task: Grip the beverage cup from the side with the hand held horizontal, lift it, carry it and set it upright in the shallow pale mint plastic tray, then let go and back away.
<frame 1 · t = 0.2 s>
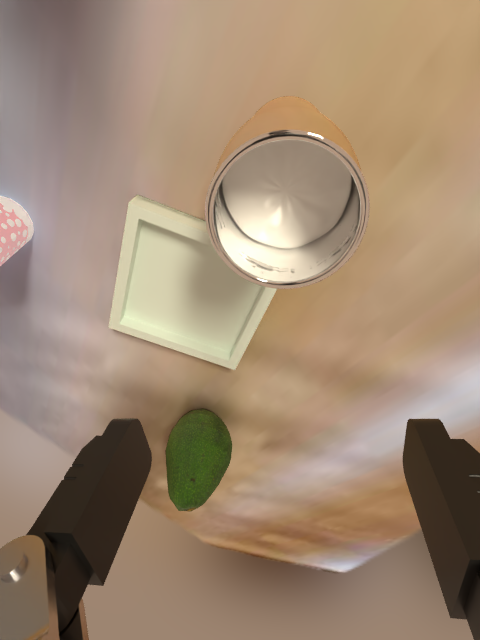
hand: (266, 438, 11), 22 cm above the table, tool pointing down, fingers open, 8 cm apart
metal tumbler: (285, 143, 26), on the table
beverage cup: (10, 219, 32), on the table
avocado: (207, 415, 47), on the table
tray: (194, 288, 35), on the table
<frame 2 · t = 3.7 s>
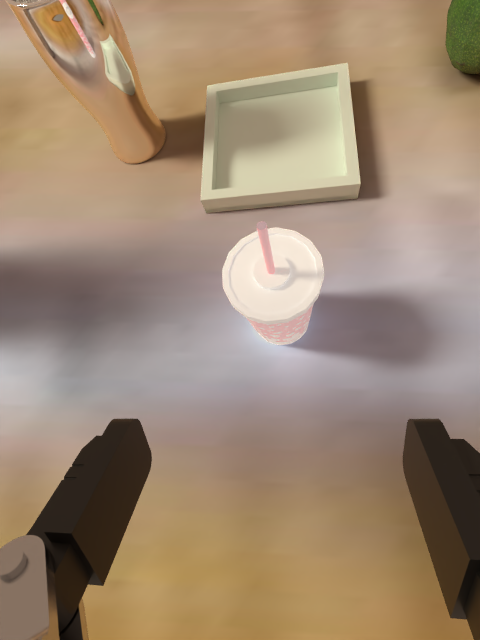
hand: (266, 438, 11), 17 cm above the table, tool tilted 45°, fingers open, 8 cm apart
metal tumbler: (140, 142, 38), on the table
beverage cup: (281, 319, 29), on the table
avocado: (474, 64, 34), on the table
tray: (277, 145, 35), on the table
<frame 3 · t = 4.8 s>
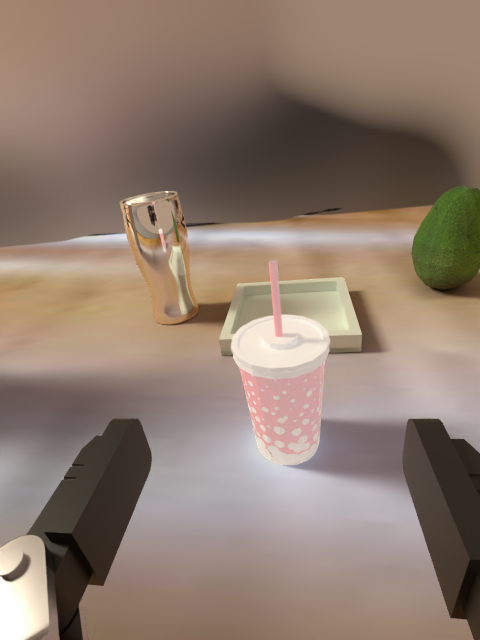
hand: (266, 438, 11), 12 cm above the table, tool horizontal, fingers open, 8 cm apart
metal tumbler: (176, 314, 47), on the table
beverage cup: (287, 441, 26), on the table
avocado: (441, 287, 44), on the table
tray: (289, 319, 42), on the table
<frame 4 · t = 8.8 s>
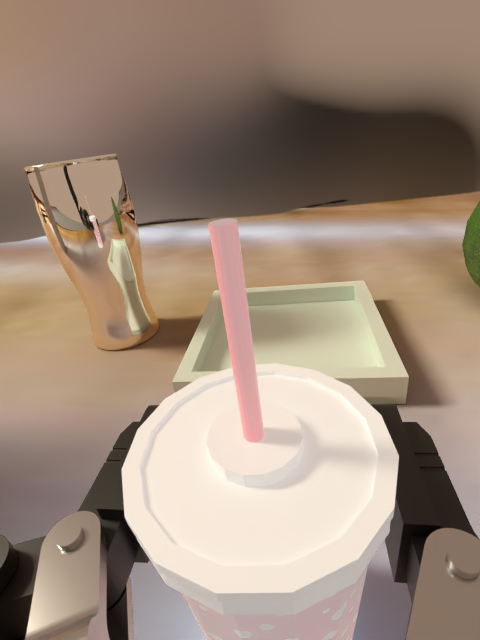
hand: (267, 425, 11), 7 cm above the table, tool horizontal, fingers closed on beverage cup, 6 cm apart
metal tumbler: (128, 334, 33), on the table
beverage cup: (282, 625, 12), on the table, touching gripper
tray: (287, 343, 28), on the table
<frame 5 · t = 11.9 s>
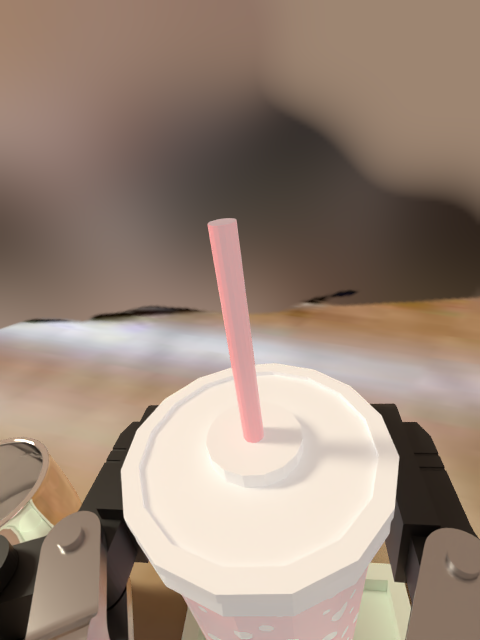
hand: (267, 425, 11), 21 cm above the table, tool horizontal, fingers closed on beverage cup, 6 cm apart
metal tumbler: (83, 625, 25), on the table
beverage cup: (282, 626, 12), point 13 cm above the table, touching gripper
when the fingers open (9 cm above the table, at t = 15.2 s): beverage cup drops 1 cm, resting on tray.
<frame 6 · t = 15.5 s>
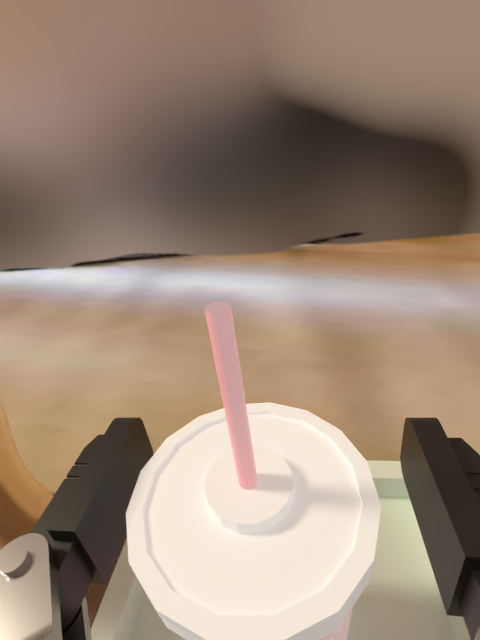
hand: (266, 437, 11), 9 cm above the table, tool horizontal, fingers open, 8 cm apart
metal tumbler: (1, 545, 19), on the table
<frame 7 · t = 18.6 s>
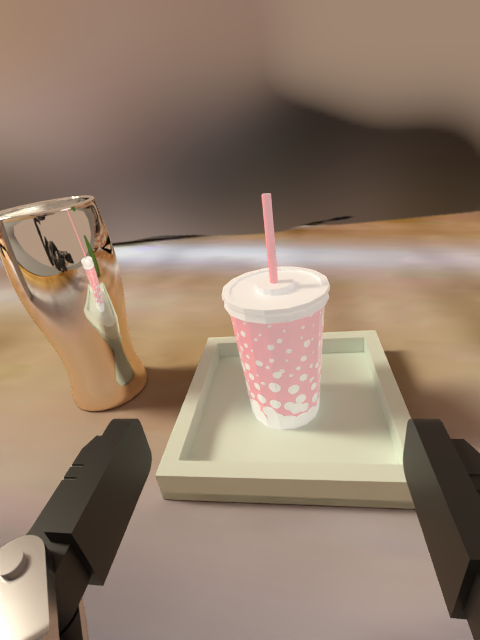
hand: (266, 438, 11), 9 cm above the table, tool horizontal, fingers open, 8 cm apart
metal tumbler: (112, 388, 30), on the table
beverage cup: (285, 406, 24), resting on tray
tray: (289, 410, 25), on the table
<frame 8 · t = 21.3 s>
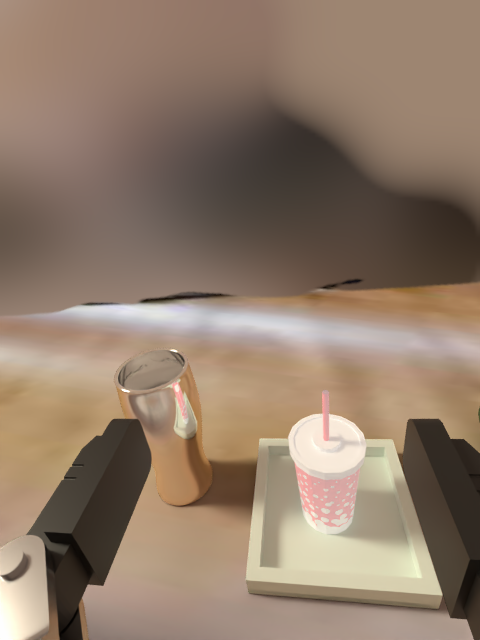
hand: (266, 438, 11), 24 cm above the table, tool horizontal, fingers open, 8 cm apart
metal tumbler: (185, 481, 38), on the table
beverage cup: (327, 510, 32), resting on tray
tray: (330, 512, 33), on the table
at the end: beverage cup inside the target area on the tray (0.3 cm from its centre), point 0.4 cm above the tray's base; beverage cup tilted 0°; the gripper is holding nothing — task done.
